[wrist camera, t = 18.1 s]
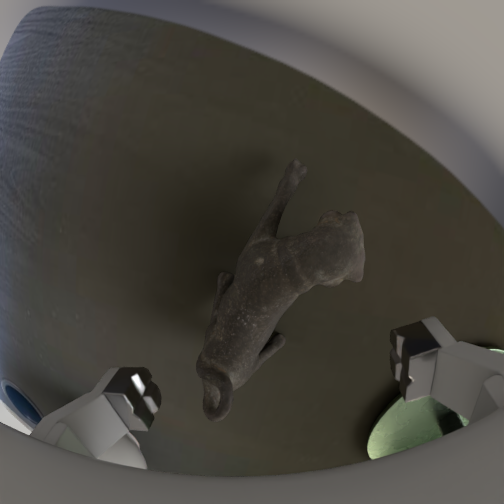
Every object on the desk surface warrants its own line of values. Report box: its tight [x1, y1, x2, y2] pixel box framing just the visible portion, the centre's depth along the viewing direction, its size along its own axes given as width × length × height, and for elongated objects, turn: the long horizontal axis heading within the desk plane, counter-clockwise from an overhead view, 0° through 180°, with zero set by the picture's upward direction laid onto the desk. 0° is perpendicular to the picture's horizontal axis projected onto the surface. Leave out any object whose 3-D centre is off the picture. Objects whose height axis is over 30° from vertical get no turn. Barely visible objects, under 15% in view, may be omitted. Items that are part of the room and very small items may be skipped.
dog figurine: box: [196, 159, 365, 422], centre depth 13 cm, size 12×6×7 cm, turn 151°
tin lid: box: [366, 346, 504, 459], centre depth 17 cm, size 17×17×5 cm
